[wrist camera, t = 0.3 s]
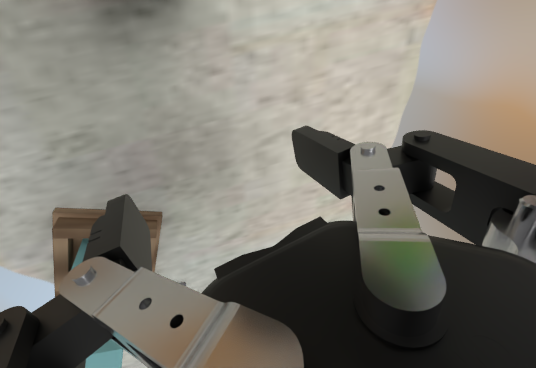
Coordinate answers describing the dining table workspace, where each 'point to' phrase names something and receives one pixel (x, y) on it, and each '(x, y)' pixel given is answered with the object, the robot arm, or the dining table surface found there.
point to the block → (110, 354)
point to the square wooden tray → (87, 236)
